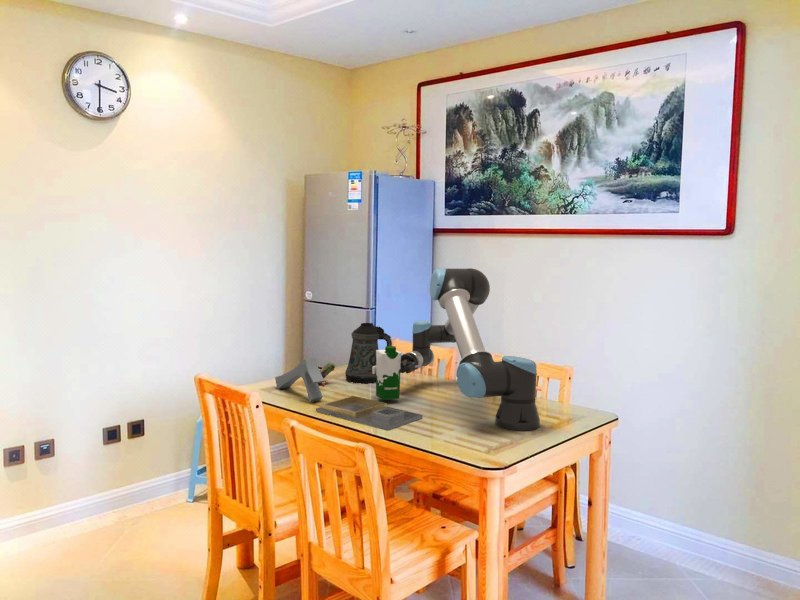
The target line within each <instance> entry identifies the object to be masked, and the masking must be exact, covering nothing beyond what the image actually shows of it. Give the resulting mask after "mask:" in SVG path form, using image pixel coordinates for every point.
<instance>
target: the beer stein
mask: <svg viewBox="0 0 800 600" xmlns="http://www.w3.org/2000/svg"><path fill="white" fill-rule="evenodd" d="M351 339H352V344H351V349H350V355H349V360H348V364H347V367H346V369H345V378H346V381H347V382H348V383H351V382H353V383H352V384H356V383H361V384H362V385H366V384H367V385H369V384H368V383H372V384H376V373H375V374H372V367H373V366H376V350H380V349H379V343H378V341H379V340H384V341H385V342H386V346H393V341H392V337H391V335H389V334H387V333H386V332H385V330H384V329H383V327H381V326H375V325H374V323H372V322H362V323H360V325H359V326H358V327H357V328H356V329H354V330H353V331H352V332H351ZM385 349H386V347H385V348H384V350H385ZM361 384H360V385H361Z"/></svg>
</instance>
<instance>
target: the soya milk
mask: <svg viewBox="0 0 800 600" xmlns="http://www.w3.org/2000/svg"><path fill="white" fill-rule="evenodd" d="M385 348H386V349H385ZM385 348H384V349H379V350H376V383H375V396H376V397H377V398H379V399H381V400H382V401H385V400H387V401H388V400H397V399H398V400H399V399H400V392H401V389H400V388H401V373H399V370H400V363H401V355H402V352H401V351H398V350H397V346H394V345H392V346H387V345H386V346H385ZM392 369H393V376H391V373H392Z"/></svg>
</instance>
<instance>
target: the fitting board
mask: <svg viewBox="0 0 800 600" xmlns="http://www.w3.org/2000/svg"><path fill="white" fill-rule="evenodd" d="M316 411H317V412H316ZM315 412H316V413H319V412H321V413H320V414H323V413H324V414H323V415H327V414H328V415H327V416H330V415H331V416H332V417H334V416H335V418H338V419H342V418H343V420H346V419H347V421H350V420H351V422H354V421H355V422H354V423H358V424H361V423H362V425H365V424H366V426H369V425H371V426H370V427H373V426H374V428H377V427H378V429H382V430H385V431H390V430H393V429H396V428H399V427H401V426H405V425H407V423H408V424H409V423H413V422H416V421H418V420H422V419H423V414H420V413H417V412H416V413H415V412H412V411H407V410H403V409H399V408H395V407H390V406H388V403H387V402H382V401H379V400H374V399H369V398H364V397H361V396H356V395H351V396H347V397H343V398H339V399H335V400H331V401H329V402H324V403H321V404H320V407H316V408H315Z"/></svg>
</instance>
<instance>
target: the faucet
mask: <svg viewBox="0 0 800 600" xmlns="http://www.w3.org/2000/svg"><path fill="white" fill-rule="evenodd" d="M300 378H302V380H303V383H304V385H305V389H306V393H307V397H308V401H309V403H315V402H314V401H317V402H320V401H322V399H323V393H322V392H321V389H320V384H322V383H325V382H324V381H326V380H325V378H324V379H323V377H322V375H321V373H320V368H319V365H318V361H317V358H316V357H310V358H304V359H303V360H302V361H301V362H300V363H299V364H298V365H296V366H295V367H294V368H293V369H291V370H289V371H288V372H286V373H284V374H281V375H279V376H275V384H276V388H277V390H281V389H280V388H285V389H289V388H291V386H293V384H294V383H295V382H296V381H297V380H299V379H300ZM321 382H322V383H321ZM318 383H320V384H318ZM288 387H289V388H288Z"/></svg>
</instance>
